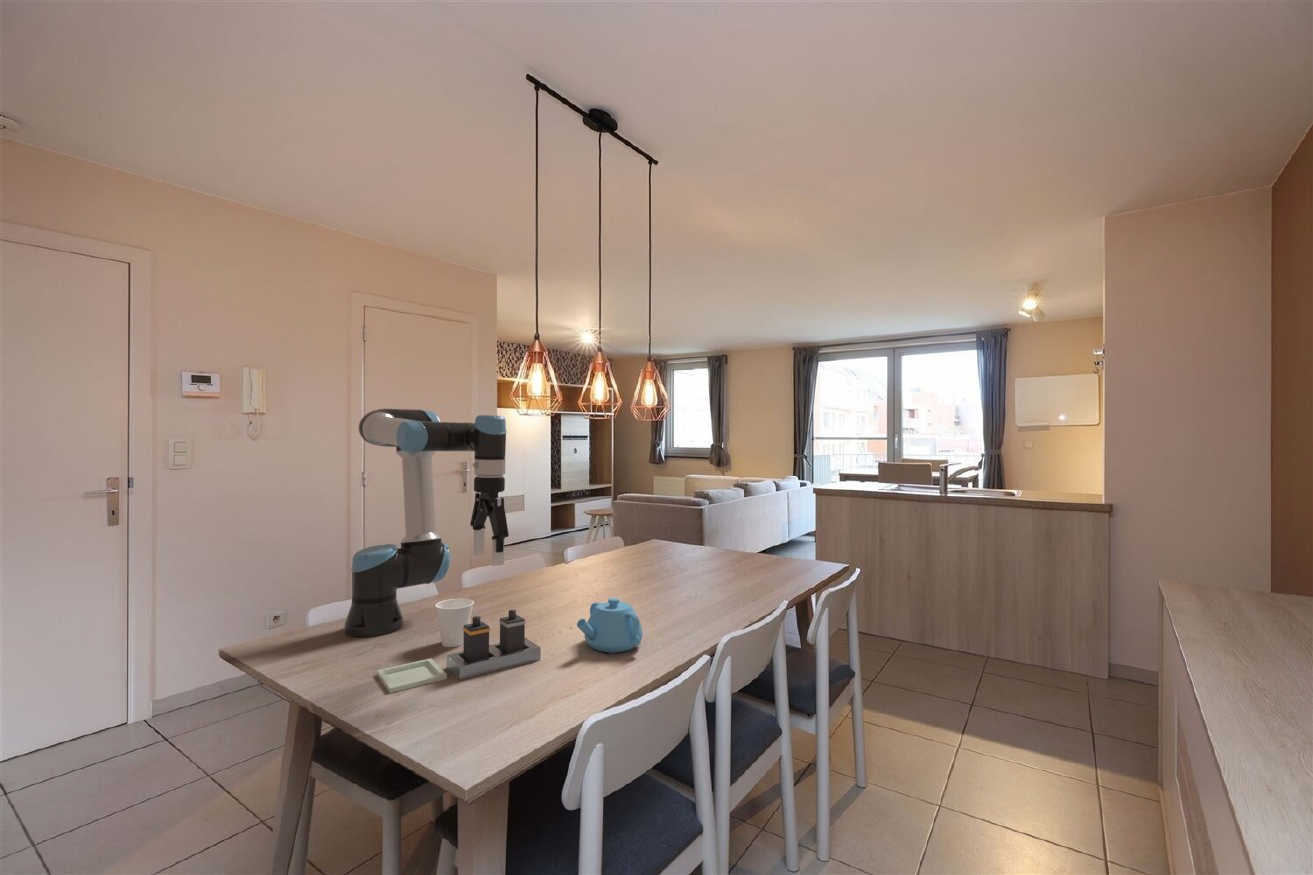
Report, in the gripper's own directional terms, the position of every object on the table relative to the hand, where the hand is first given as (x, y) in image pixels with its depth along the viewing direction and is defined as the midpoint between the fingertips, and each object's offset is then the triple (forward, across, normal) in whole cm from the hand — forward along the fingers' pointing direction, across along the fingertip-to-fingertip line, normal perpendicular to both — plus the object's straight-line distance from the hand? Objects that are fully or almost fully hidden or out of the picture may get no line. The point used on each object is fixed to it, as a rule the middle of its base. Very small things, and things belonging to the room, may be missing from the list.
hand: (487, 559), depth 143 cm
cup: (+25, -12, -4) cm, 28 cm away
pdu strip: (+24, +7, -1) cm, 25 cm away
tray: (+24, +4, -19) cm, 31 cm away
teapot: (+24, +14, +28) cm, 39 cm away
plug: (+24, +8, -5) cm, 25 cm away
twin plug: (+24, +7, +4) cm, 25 cm away
